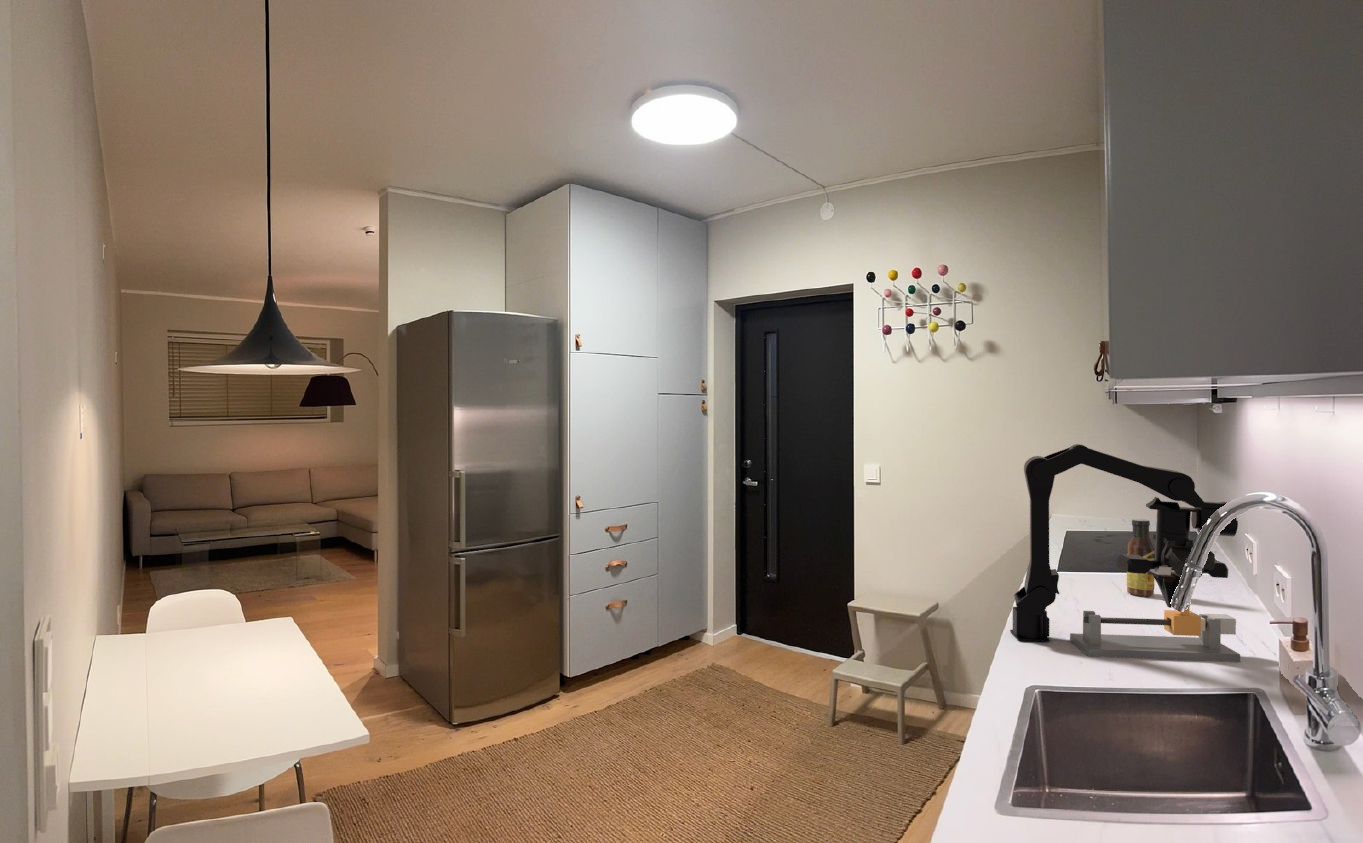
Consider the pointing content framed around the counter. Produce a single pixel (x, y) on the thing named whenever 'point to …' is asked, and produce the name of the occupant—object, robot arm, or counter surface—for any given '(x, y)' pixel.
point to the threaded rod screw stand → (1157, 640)
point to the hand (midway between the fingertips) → (1169, 607)
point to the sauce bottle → (1144, 548)
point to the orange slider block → (1183, 622)
